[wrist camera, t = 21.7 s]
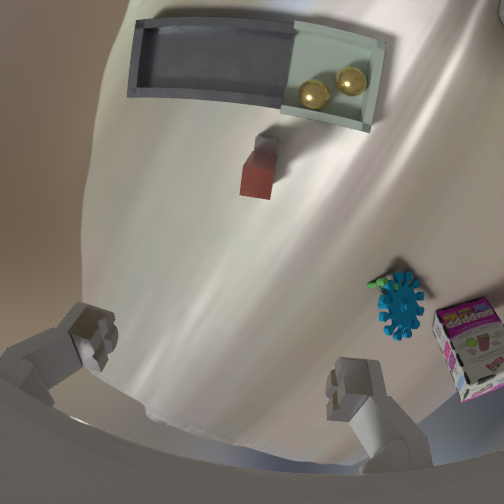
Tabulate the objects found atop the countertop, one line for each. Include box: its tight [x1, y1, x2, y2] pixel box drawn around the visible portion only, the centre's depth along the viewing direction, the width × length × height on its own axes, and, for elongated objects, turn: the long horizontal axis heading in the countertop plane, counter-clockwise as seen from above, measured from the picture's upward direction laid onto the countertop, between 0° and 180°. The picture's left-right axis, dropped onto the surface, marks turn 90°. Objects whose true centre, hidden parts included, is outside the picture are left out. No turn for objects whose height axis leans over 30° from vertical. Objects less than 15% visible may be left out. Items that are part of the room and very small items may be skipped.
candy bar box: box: [433, 297, 504, 402], centre depth 36 cm, size 11×5×16 cm, turn 106°
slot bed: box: [127, 17, 294, 109], centre depth 29 cm, size 10×18×3 cm, turn 82°
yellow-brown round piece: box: [298, 79, 330, 110], centre depth 29 cm, size 4×4×4 cm
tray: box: [280, 20, 386, 133], centre depth 28 cm, size 11×10×3 cm
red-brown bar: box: [240, 135, 279, 200], centre depth 31 cm, size 6×3×10 cm, turn 173°
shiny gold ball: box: [335, 66, 367, 97], centre depth 27 cm, size 4×4×4 cm
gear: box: [367, 271, 424, 341], centre depth 41 cm, size 11×6×10 cm
